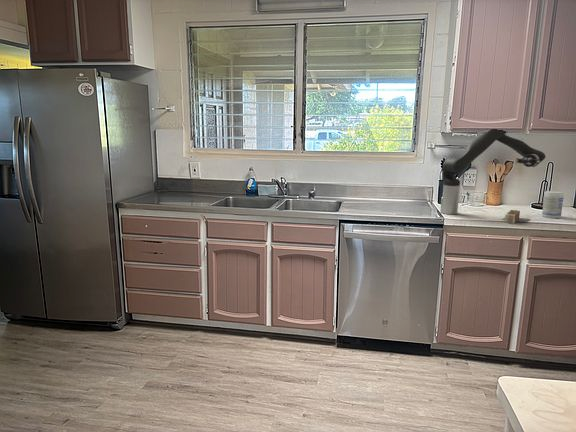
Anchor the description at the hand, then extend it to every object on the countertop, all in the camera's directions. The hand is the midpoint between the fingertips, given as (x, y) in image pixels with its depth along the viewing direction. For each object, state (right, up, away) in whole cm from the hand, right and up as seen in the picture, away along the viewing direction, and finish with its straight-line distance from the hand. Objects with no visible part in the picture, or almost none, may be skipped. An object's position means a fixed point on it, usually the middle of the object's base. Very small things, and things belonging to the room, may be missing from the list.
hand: (524, 161), depth 238 cm
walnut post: (-6, -30, -2) cm, 31 cm away
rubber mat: (-6, -33, -2) cm, 34 cm away
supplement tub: (+19, -32, +5) cm, 37 cm away
